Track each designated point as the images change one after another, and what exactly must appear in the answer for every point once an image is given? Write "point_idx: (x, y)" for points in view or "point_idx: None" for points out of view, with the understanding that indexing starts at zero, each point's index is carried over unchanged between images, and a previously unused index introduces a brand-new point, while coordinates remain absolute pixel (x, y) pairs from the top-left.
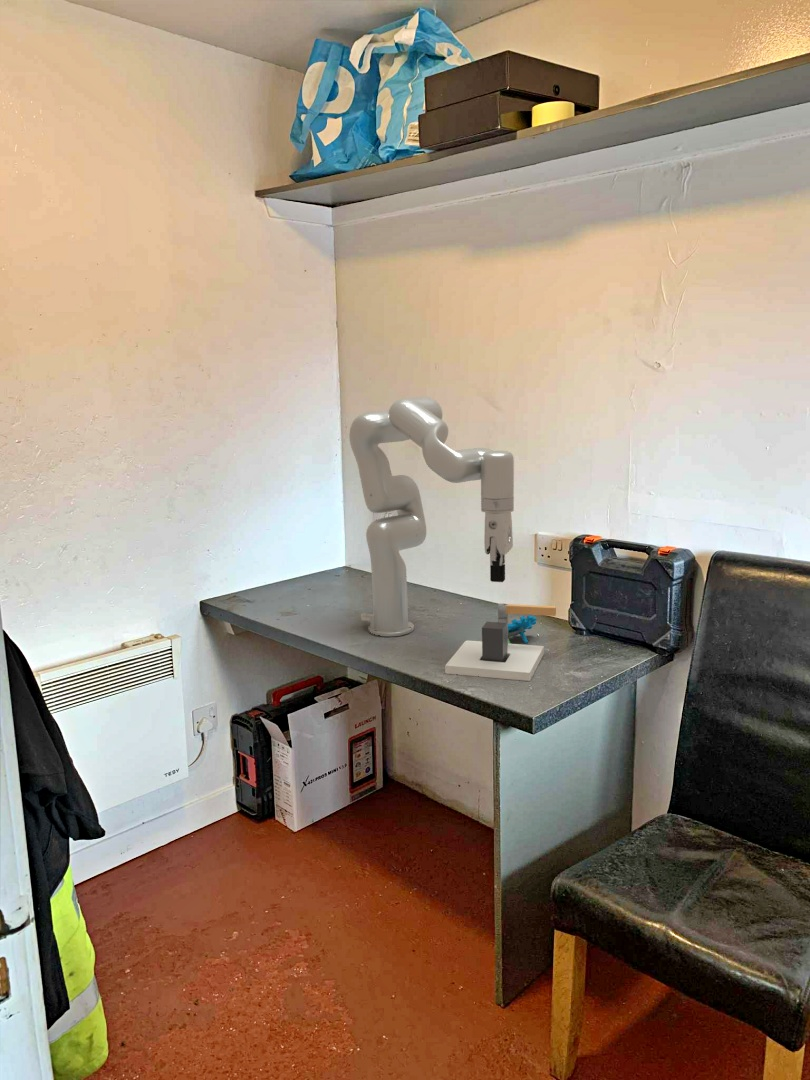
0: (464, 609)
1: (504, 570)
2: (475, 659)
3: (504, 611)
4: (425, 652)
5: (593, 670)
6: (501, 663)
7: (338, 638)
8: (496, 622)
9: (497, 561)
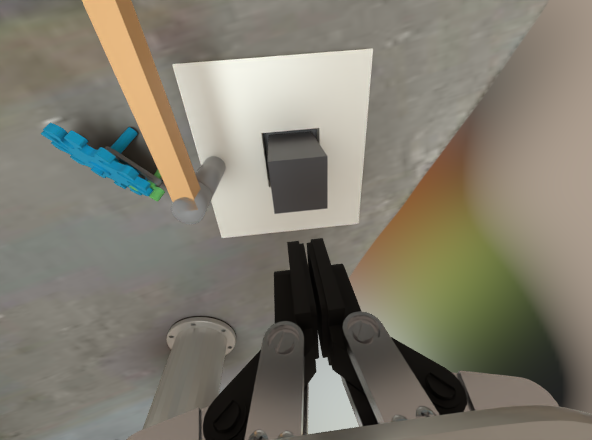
0: (26, 300)
1: (304, 280)
2: None
3: (203, 194)
4: (272, 271)
5: None
6: (327, 133)
7: None
8: (273, 189)
9: (433, 365)
